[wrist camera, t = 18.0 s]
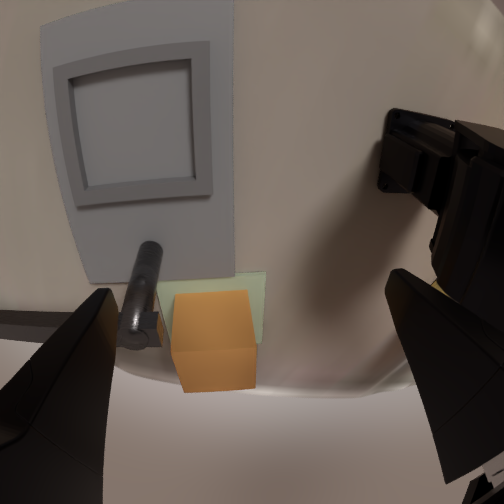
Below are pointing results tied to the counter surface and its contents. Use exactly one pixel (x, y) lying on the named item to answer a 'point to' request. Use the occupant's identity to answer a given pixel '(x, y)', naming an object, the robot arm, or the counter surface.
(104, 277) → the socket plate
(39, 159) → the counter surface
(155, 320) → the black knob lever
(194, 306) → the orange cube
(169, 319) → the pad
